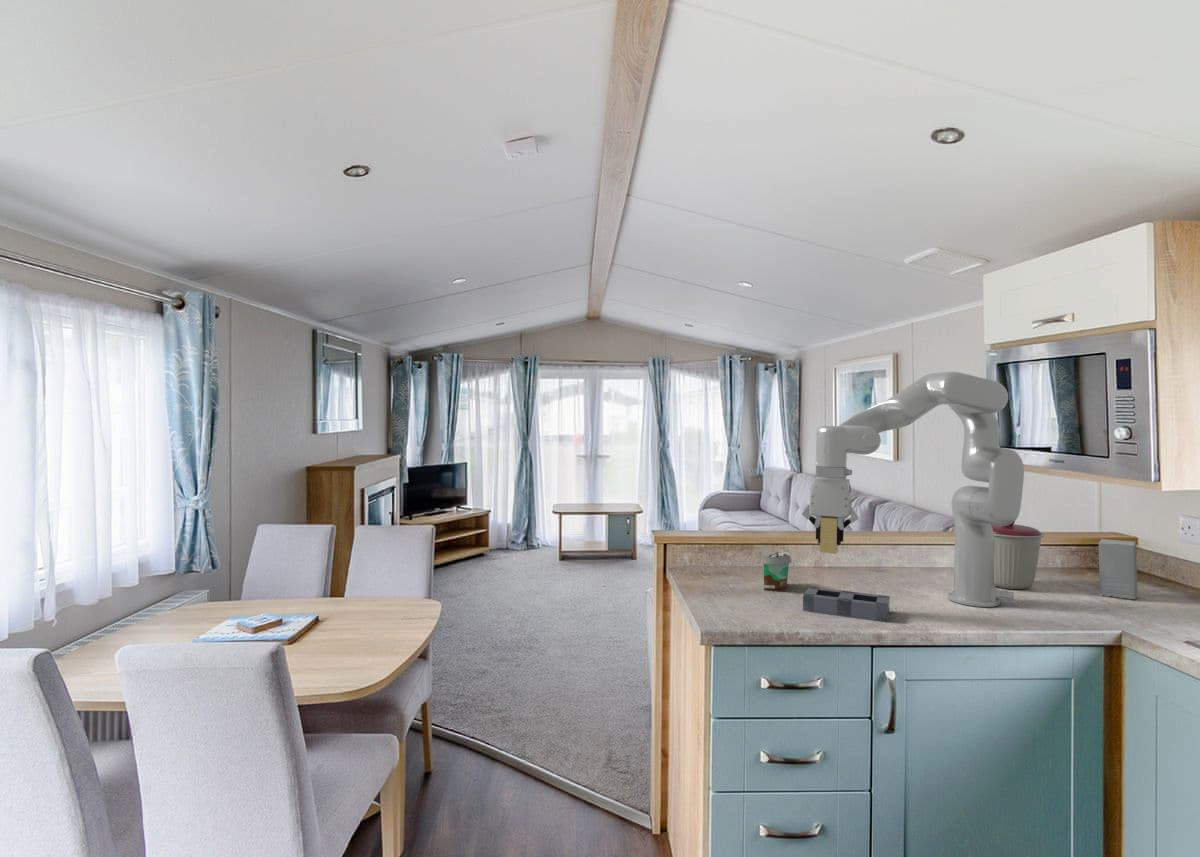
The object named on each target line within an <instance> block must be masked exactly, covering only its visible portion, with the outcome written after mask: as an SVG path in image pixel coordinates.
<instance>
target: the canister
mask: <svg viewBox="0 0 1200 857" xmlns="http://www.w3.org/2000/svg"><path fill="white" fill-rule="evenodd" d="M1015 522H1016V520H1015V521H1014V522H1013V523H1012V524H1010V525H1007V526H996V525H991V526H992V529H993V532H994V537H995V552H994V585H995V588H999V589H1000V588H1001V589H1007V590H1025V589H1029V588H1031V586H1033V584H1034V582H1035V579H1036V574H1037V567H1038V562H1039V557H1040V556H1039V555H1040V549H1041V541H1042V538H1043V537H1044V536H1045V534H1044V533H1043V532H1042V531H1040V530H1038V529H1037V528H1035V527H1031V526H1027V525H1021V524H1015Z"/></svg>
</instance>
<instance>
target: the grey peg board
mask: <svg viewBox="0 0 1200 857" xmlns="http://www.w3.org/2000/svg"><path fill="white" fill-rule="evenodd" d="M890 599H891V598H890V595H882V594H873V593H865V592H860V591H859V592H857V591H848V590H839V589H834V588H832V589H831V588H824V587H823V588H822V587H815V586H809V587H808V588H807V590H806V591H805V592H804V593H803V595H802V611H803V612H810V613H818V614H823V615H824V614H825V615H831V616H838V617H845V618H846V617H847V618H854V619H861V620H869V621H873V622H874V621H875V622H883V623H888V619H889V615H890V606H891V605H890Z"/></svg>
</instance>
